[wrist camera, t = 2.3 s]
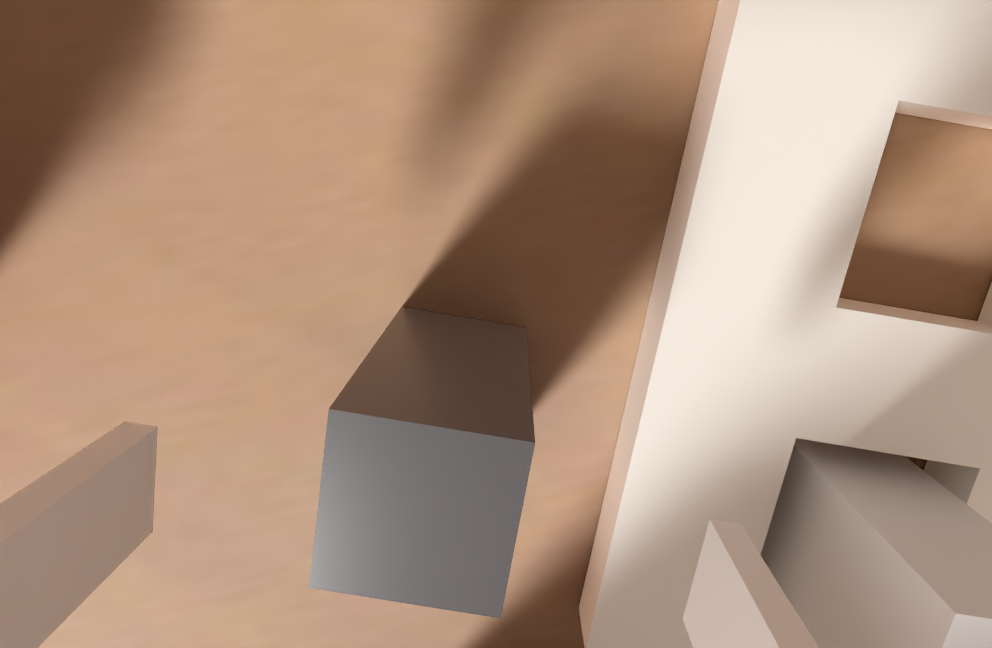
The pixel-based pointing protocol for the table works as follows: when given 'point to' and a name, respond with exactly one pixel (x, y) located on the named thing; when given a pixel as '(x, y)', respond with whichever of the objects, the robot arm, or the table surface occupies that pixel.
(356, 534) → the dark grey block
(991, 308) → the white peg board
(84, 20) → the table surface
